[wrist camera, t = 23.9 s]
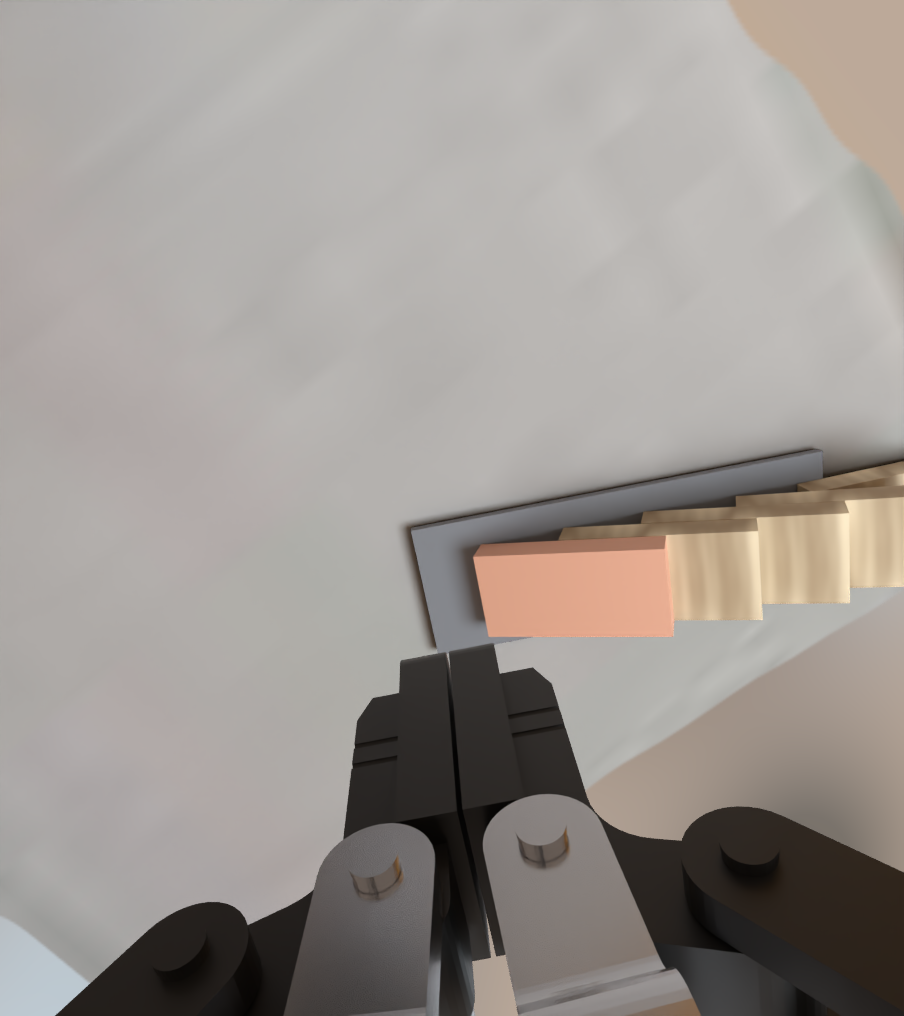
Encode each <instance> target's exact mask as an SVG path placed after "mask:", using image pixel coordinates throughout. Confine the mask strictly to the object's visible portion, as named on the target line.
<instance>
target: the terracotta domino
mask: <svg viewBox="0 0 904 1016" xmlns="http://www.w3.org/2000/svg"><path fill="white" fill-rule="evenodd" d="M473 559H474V564H475V569H476V574H477V579H478V585H479V590H480V595H481V600H482V605H483V610H484V615H485V621H486V626H487V631H488V636H489V637H673V631H674V612H673V602H672V592H671V582H670V571H669V561H668V551H667V541H666V536H650V537H628V538H607V539H585V540H564V541H542V542H521V543H499V544H481V545H480V547H479V548H478V550H477V551H476V553H475V555H474V556H473Z"/></svg>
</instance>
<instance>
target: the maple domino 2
mask: <svg viewBox="0 0 904 1016" xmlns="http://www.w3.org/2000/svg"><path fill="white" fill-rule="evenodd" d="M756 518H757V525H758V537H759V557H760V577H761V597H762V604H800V603H850V539H849V511H848V508H847V506H846V503H845V501H838V502H819V503H799V504H780V505H761V506H742V507H722V508H703V509H684V510H665V511H645V512H643V516H642V520H641V524H651V523H672V522H693V521H714V520H735V519H756Z"/></svg>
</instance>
